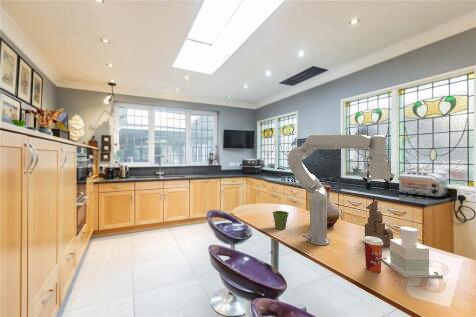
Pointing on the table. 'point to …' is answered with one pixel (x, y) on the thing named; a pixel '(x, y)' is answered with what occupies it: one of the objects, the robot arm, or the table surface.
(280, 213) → the plant pot
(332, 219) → the jug
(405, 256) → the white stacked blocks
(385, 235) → the wooden toy
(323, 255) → the table surface
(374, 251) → the paper cup
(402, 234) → the white cylinder
